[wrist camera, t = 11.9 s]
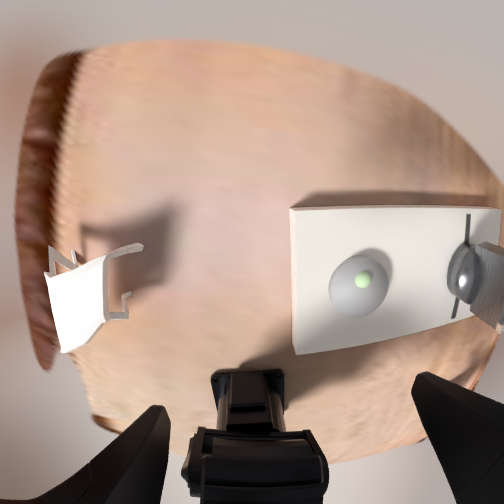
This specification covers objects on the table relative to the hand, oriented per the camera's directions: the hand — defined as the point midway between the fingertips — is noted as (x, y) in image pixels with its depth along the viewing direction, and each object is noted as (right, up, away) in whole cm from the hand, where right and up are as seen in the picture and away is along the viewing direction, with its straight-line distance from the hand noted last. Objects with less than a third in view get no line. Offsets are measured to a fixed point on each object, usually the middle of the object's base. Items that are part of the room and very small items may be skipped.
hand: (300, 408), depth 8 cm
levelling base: (+12, +4, +13) cm, 18 cm away
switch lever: (+17, +3, +11) cm, 21 cm away
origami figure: (-15, +2, +13) cm, 19 cm away
